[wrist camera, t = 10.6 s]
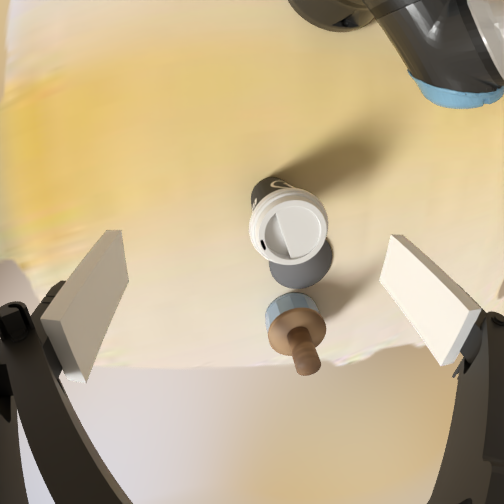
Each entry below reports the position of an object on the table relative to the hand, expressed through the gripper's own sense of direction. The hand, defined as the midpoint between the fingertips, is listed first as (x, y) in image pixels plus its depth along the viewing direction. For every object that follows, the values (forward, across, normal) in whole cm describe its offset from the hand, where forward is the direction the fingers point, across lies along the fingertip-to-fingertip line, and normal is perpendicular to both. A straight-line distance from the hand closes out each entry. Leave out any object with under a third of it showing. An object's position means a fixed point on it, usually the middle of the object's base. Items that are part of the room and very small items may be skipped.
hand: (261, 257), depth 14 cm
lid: (+28, +12, -29) cm, 42 cm away
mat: (+33, +12, -18) cm, 40 cm away
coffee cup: (+34, +6, -7) cm, 35 cm away
